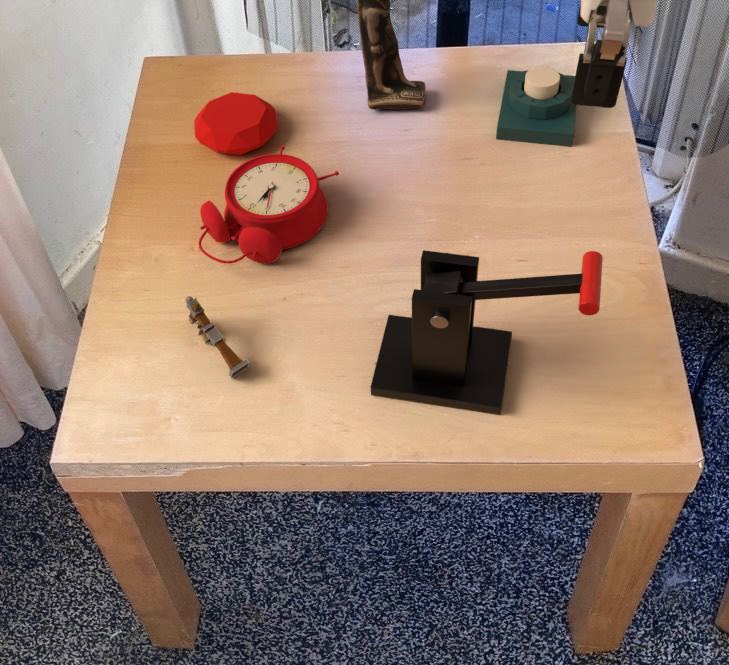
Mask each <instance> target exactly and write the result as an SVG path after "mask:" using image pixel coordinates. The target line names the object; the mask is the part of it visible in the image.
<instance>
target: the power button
mask: <svg viewBox="0 0 729 665" xmlns="http://www.w3.org/2000/svg"><path fill="white" fill-rule="evenodd" d="M527 70H528V71H527ZM527 70H526V71H527V73H526V76H525V85H524V91H525V93H526V95H528V96H530V97H532V98H534V99H543V100H545V99H549V98H553V97H554V96H556V94H557V93H558V88H559V82H560V75H559V73H560V72H559V71H557V69H555V68H554V67H550V66H546V65H539V66H538V65H537V66H533V67H532V68H529V69H527ZM558 72H559V73H558Z"/></svg>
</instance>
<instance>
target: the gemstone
mask: <svg viewBox="0 0 729 665" xmlns="http://www.w3.org/2000/svg"><path fill="white" fill-rule="evenodd" d="M276 110H277V109H276V108H275V107H274V106H273V105H272V104H271V103H270V102H268V101H266V100H265V99H263V98H261V97H259V96H258V95H256V94H250V93H243V92H242V93H241V92H232V91H231V92H229V93H226V94H224V95H223V94H222V95H221V96H219V97H216V98H214V99H210V100H208V102H207V103H206V104H205V105H204V106H203V108H202V109H201V110H200V111H199V112H198V113H197V115H196V117H195V119H194V121H193V123H194V126H193V127H194V137H195V140H197V141H198V143H199V144H200V145H202V146H203V147H204V146H205V147H206V148H208V149H210V150H212V151H214V152H216V153H220V154H228V155H236V156H243V155H245V154H246V153H249V152H251V151H255V150H256V149H258V148H261V147H263V146H264V145H265V144H266V143H267V142H268V141H269V139H271V138H272V136H274V135H275V133H276V131H277V129H278V127H279V123H278V117H277V111H276Z"/></svg>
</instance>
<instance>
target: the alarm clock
mask: <svg viewBox="0 0 729 665" xmlns="http://www.w3.org/2000/svg"><path fill="white" fill-rule="evenodd" d="M285 149H286V147H285V145H280V152H279V153H270V154H264V155H259V156H255V157H253V158H251V159H248V160H247V161H245V162H244V161H243V163H241V164H240V165H238V166H237V167H236V168H235V169H234V170H233V171H232V172H231V173H230V175H229V176H228V178H227V180H226V183H225V188H224V199H225V202H226V205H225V207H224V212H223V215H222V213H221V212H220V210H219V208H218V207H217V206H216V205H215V204H214V203H213V201H211V200H207V201H205V202H204V203H202V204H201V206H200V210H199V211H200V218H201V221H202V224H203V225H202V226H200V227H199V228H200V230H202V231H203V230H204V229H205V230H204V232H203V233H202V234H201V236H200V237H199V239H198V242H197V243H198V249H199V250H200V251H201V253H203V255H205V256H206V257H208V258H209V259H211V260H212V261H215V262H218V263H221V264H228V265H229V264H234V263H238V262H240V261H242V260H243V259H244V258H247V259H249V260H251V261H253V262H256V263H259V264H271V263H273V262H276V261H277V260H278V259H279V257H280V256H281V255H282V251H284V250H287V249H291V248H295V247H297V246H300V245H302V244H304V243H306V242H307V241H309V240H310V239H312V238H313V237H314V236H316V235H317V234H318V233H319V231H320V230H321V229H322V227H324V225H325V223H326V220H327V217H328V213H329V207H328V206H329V204H328V200H327V196H326V195H325V193H324V191H323V190H322V189H321V187H320V182H321V181H323V180H326V179H328V178H331V177H334V176H336V177H337V176H340V173H339V172H340V171H338V170H336V171H335V172H334V173H330V174H326V175H323V176H320V177H318V174H317V173H316V172H315V170H314V168H313V167H312V166H311V165H310V164H309V163H308V162H306V161H305V160H304V159H301V158H299V157H297V156H294V155H291V154H284V153H283V152H284V150H285ZM207 233H208V234H209V235H210V237H211V238H212V239H213V240H214V241H216V242H217V243H221V244H224V243H227V242H228V241H230V240H233V241H237V242H238V247H239V250H240V252H241V253H242V254H243V255H241V256H239V257H238V258H235V259H233V260H223V259H220V258H217V257H215V256H213V255H211V254H209V253H208V252H207V251H206V250H205V249H204V248H203V246H202V242H203V240H204V238H205V236H206V234H207Z"/></svg>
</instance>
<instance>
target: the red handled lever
mask: <svg viewBox="0 0 729 665" xmlns="http://www.w3.org/2000/svg"><path fill="white" fill-rule="evenodd" d="M603 261H604V260H603V255H602V253H601V252H599V251H596V250H589V251H586V252H584V253H583V255H582V260H581V270H580V273H570V274H554V275H542V276H529V277H517V278H516V277H515V278H501V279H489V280H488V279H487V280H477V281H473V282H465V281H464V278H463V276H462V273H461V271H453V272H440V273H427V274H426V278H425V283H424V287H423V290H425V291H433V292H441V293H448V294H456V295H463V296H471V297H472V300H476V301H481V300H498V299H513V298H529V297H542V296H543V297H545V296H559V295H574V294H575V295H576V294H579V297H578V307H577V308H578V311H579V313H581V314H582V315H584V316H594V315H597V314H598V313H599V312H600V308H601V293H602V292H601V291H602V277H603V276H602V275H603Z"/></svg>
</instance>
